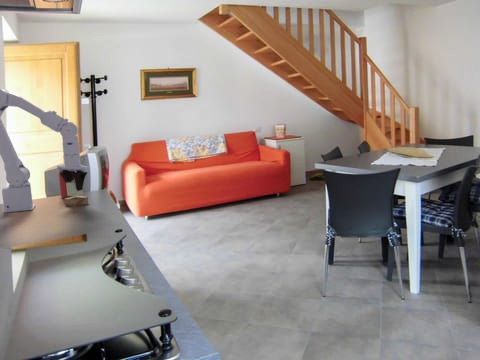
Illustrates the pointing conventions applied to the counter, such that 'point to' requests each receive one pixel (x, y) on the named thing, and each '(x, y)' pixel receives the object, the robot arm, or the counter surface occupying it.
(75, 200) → the walnut block
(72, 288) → the counter surface
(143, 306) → the counter surface
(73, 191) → the sage brick
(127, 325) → the counter surface
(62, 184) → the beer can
